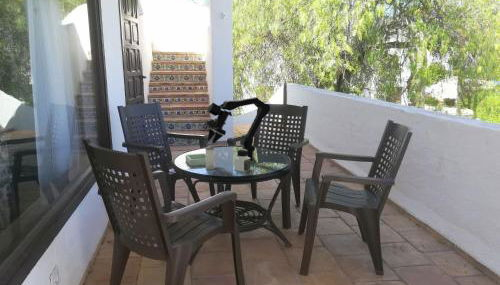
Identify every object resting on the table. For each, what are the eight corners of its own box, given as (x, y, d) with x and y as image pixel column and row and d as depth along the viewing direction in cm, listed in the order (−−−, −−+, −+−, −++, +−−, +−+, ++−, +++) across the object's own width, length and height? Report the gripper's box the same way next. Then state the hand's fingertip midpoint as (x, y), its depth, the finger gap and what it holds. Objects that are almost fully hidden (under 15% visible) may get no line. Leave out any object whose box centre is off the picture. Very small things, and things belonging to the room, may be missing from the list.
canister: (215, 168, 235) (215, 146, 233) (212, 170, 230) (212, 148, 228) (207, 167, 236) (207, 146, 234) (204, 169, 232) (204, 148, 229)
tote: (185, 161, 250) (185, 154, 249) (204, 160, 254) (204, 153, 254) (190, 167, 237) (190, 159, 236) (210, 165, 241) (210, 158, 240)
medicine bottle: (244, 172, 227) (244, 151, 225) (234, 170, 231) (234, 150, 228) (250, 169, 233) (250, 149, 231) (240, 167, 237) (240, 148, 234)
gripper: (205, 112, 249) (195, 134, 249) (215, 115, 233) (204, 139, 232) (220, 119, 254) (209, 141, 254) (231, 123, 238) (219, 146, 237)
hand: (210, 141), depth 244 cm, fingers open, 9 cm apart
